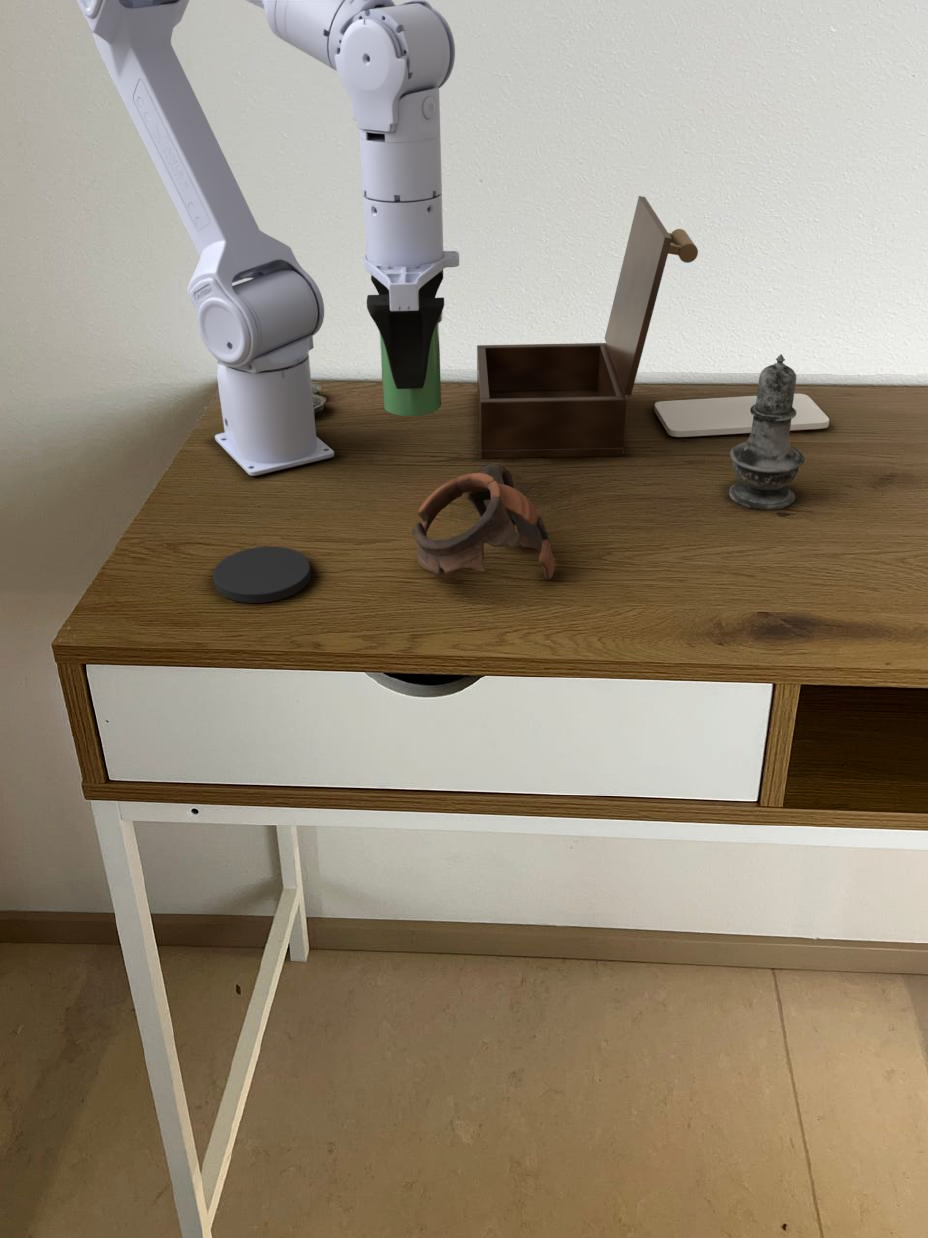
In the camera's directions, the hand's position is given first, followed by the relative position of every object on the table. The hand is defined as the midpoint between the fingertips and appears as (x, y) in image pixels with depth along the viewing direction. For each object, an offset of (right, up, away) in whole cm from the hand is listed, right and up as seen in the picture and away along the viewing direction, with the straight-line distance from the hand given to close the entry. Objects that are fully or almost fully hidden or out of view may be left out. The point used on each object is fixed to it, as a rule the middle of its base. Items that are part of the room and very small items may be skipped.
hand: (410, 374), depth 90 cm
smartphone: (+30, -1, +18) cm, 35 cm away
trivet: (-11, -16, -6) cm, 20 cm away
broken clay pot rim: (+6, -15, -4) cm, 17 cm away
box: (+12, -1, +17) cm, 21 cm away
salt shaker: (+29, -9, +5) cm, 30 cm away
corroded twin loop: (-12, +2, +22) cm, 25 cm away
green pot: (0, -2, +1) cm, 3 cm away
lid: (+19, +9, +11) cm, 24 cm away
